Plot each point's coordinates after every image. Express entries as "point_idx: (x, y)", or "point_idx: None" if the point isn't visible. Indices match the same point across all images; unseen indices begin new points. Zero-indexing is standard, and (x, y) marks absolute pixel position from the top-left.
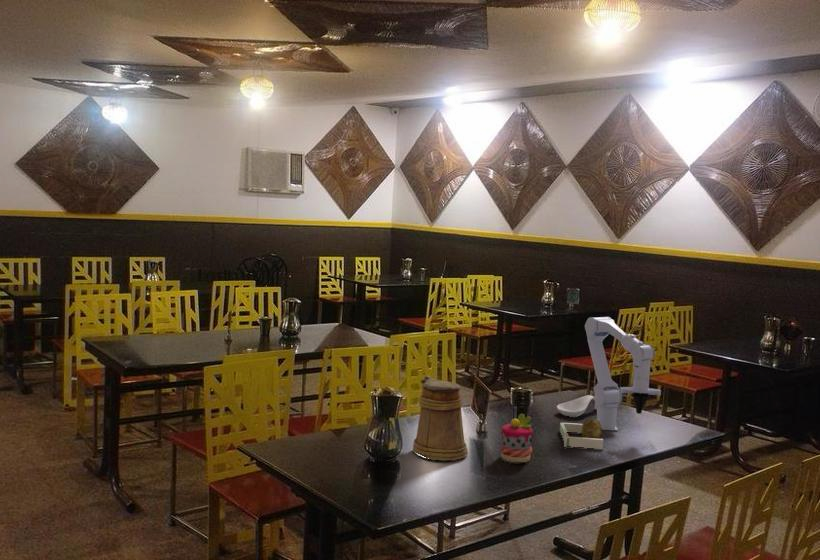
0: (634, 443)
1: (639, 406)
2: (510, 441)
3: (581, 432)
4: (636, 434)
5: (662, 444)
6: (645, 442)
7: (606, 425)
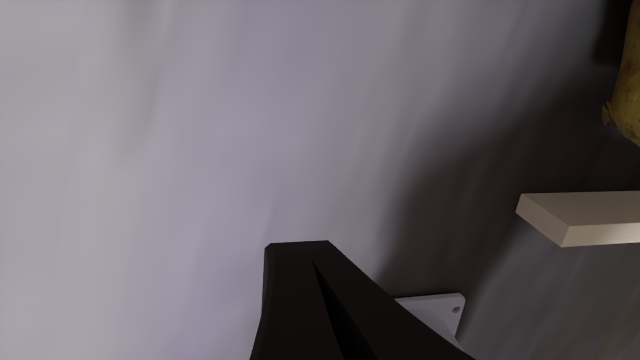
0: (300, 18)
1: (360, 318)
2: None
3: (601, 194)
4: (218, 269)
5: (3, 25)
6: (184, 68)
7: (423, 322)
